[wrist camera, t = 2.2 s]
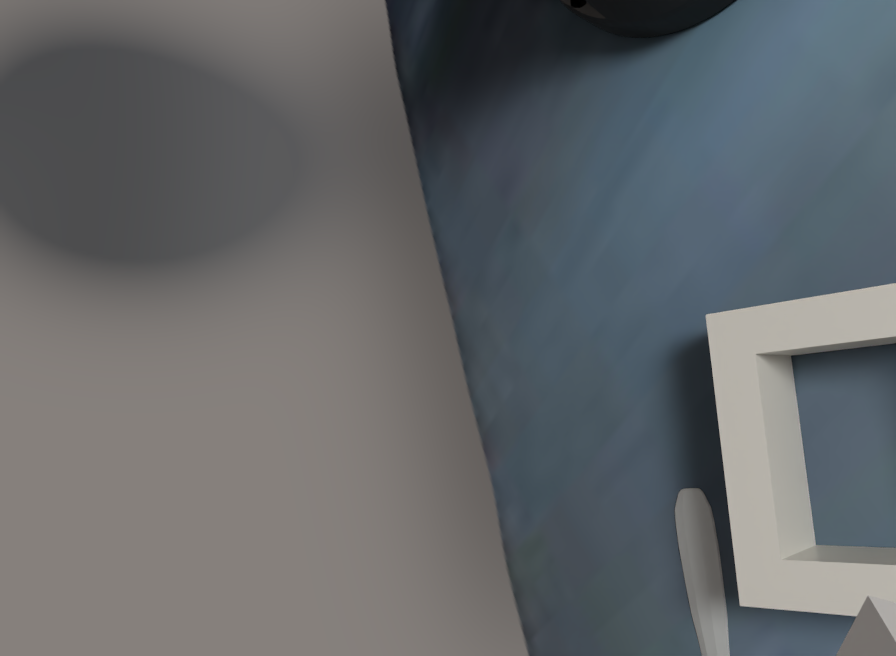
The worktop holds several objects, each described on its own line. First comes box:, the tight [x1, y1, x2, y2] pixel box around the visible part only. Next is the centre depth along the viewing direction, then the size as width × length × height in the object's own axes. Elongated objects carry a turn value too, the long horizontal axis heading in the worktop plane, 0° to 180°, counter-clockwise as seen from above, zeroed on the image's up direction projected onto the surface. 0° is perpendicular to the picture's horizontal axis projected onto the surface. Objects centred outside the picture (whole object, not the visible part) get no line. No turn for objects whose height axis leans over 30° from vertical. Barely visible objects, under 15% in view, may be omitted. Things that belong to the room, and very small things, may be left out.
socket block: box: [706, 283, 896, 616], centre depth 32 cm, size 12×12×4 cm
